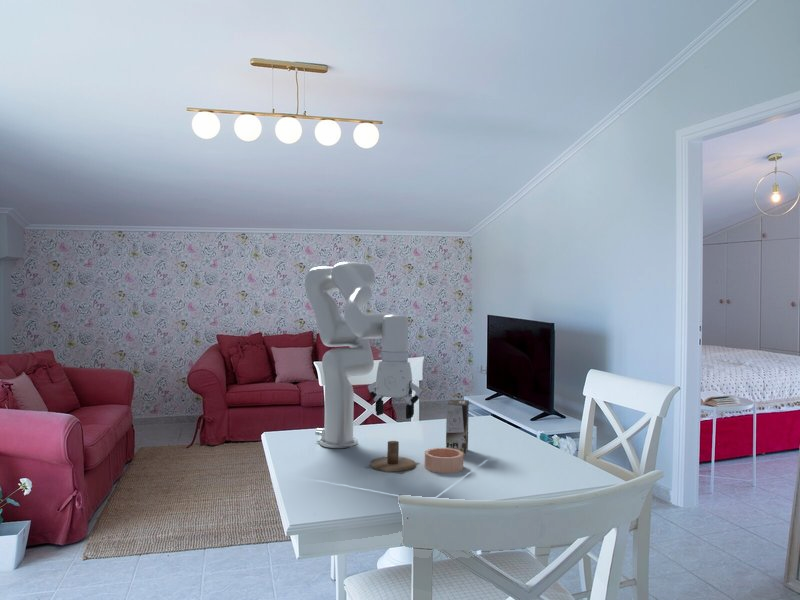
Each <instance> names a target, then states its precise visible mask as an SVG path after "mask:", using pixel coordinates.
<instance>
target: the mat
mask: <svg viewBox="0 0 800 600" xmlns="http://www.w3.org/2000/svg"><path fill="white" fill-rule="evenodd" d="M414 462H415V467H417V466H418V465H420V464H421V463H420V462H417V461H414ZM364 468H365V469H369V470H375V469H373V468H372V467H371V466H370V464H369V465H367V466H365V467H364ZM406 472H408V471H403V472H391V473H393V474H399V475H403V474H405V473H406Z"/></svg>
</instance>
